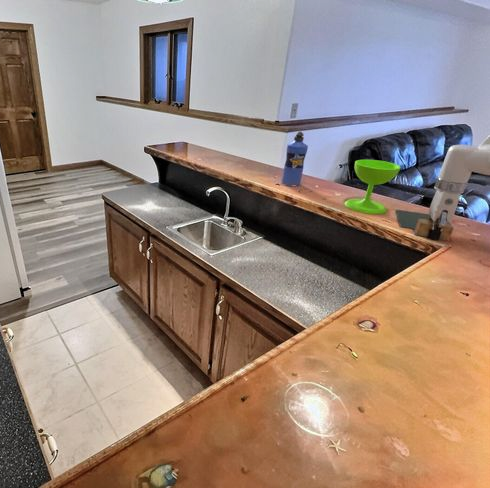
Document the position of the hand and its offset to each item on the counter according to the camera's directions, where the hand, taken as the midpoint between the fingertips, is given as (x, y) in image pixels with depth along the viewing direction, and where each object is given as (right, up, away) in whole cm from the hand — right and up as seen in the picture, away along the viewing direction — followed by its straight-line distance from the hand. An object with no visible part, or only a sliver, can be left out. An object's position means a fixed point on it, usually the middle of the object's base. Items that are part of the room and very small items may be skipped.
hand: (430, 236), depth 118 cm
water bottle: (-27, +28, +57) cm, 69 cm away
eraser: (0, -1, 0) cm, 1 cm away
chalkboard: (+6, +5, +13) cm, 15 cm away
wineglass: (-6, +13, +28) cm, 31 cm away
